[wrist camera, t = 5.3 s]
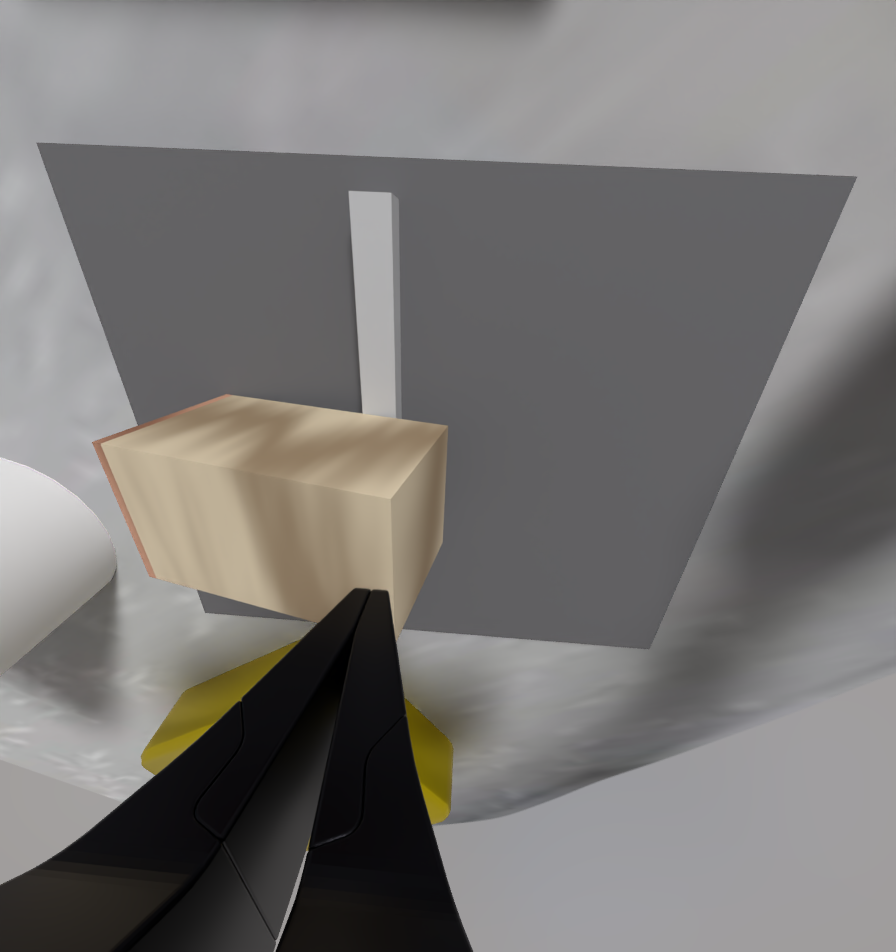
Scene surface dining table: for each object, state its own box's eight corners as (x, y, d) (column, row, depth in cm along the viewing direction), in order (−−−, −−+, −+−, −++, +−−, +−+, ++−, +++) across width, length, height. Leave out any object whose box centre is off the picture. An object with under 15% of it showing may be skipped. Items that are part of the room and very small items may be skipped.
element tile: (313, 789, 33) (289, 865, 29) (172, 691, 27) (116, 769, 23) (464, 747, 28) (462, 831, 24) (332, 620, 23) (299, 701, 19)
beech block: (390, 499, 9) (92, 442, 11) (395, 644, 11) (149, 576, 13) (448, 425, 13) (226, 394, 15) (442, 542, 16) (251, 502, 18)
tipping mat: (833, 182, 12) (897, 166, 10) (643, 636, 21) (658, 669, 19) (61, 149, 12) (-8, 130, 11) (213, 601, 22) (191, 630, 20)
